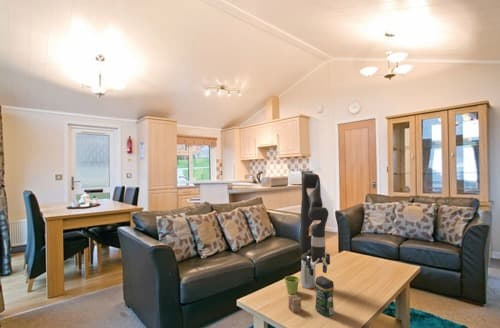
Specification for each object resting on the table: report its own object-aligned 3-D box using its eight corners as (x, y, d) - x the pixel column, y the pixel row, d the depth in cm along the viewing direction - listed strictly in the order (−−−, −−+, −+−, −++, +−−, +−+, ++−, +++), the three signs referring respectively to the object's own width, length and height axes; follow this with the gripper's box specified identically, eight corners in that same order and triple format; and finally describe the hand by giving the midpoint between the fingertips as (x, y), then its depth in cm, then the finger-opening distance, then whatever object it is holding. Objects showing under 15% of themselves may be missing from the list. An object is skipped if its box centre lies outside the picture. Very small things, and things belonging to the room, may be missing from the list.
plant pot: (292, 297, 165) (292, 283, 165) (281, 291, 172) (281, 278, 172) (302, 293, 170) (302, 279, 170) (292, 287, 178) (292, 274, 178)
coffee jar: (312, 309, 151) (312, 276, 151) (323, 305, 155) (323, 273, 155) (325, 318, 143) (325, 283, 143) (336, 314, 147) (336, 280, 147)
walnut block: (288, 308, 153) (288, 296, 152) (296, 306, 154) (296, 294, 154) (293, 313, 148) (293, 300, 148) (301, 311, 150) (301, 298, 150)
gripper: (324, 240, 153) (324, 269, 153) (303, 243, 147) (303, 273, 147) (333, 244, 146) (333, 274, 146) (311, 248, 140) (311, 279, 140)
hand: (318, 273), depth 147 cm, fingers open, 8 cm apart
